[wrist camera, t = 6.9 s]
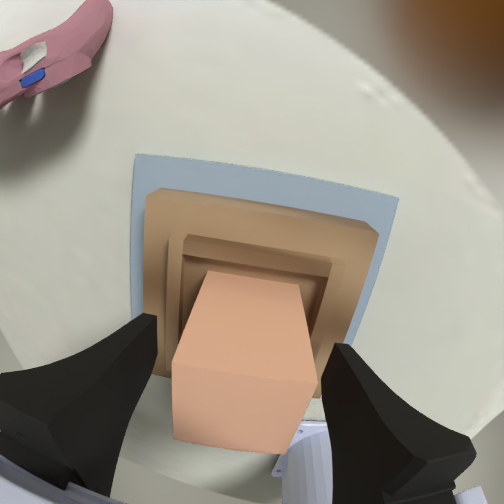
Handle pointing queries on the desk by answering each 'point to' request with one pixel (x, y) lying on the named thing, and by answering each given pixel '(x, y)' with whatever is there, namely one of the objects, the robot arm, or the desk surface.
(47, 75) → the video game controller
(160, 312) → the walnut plinth
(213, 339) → the terracotta block
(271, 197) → the mat
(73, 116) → the desk surface
